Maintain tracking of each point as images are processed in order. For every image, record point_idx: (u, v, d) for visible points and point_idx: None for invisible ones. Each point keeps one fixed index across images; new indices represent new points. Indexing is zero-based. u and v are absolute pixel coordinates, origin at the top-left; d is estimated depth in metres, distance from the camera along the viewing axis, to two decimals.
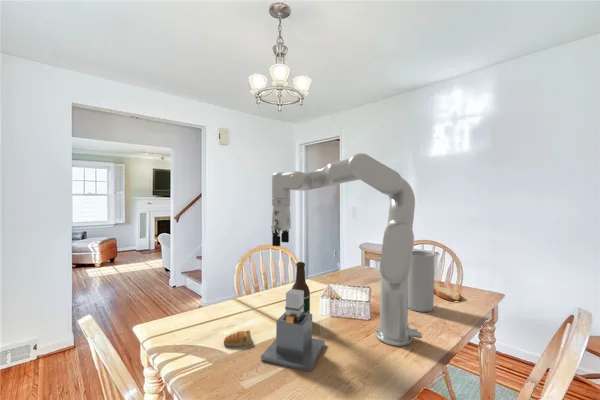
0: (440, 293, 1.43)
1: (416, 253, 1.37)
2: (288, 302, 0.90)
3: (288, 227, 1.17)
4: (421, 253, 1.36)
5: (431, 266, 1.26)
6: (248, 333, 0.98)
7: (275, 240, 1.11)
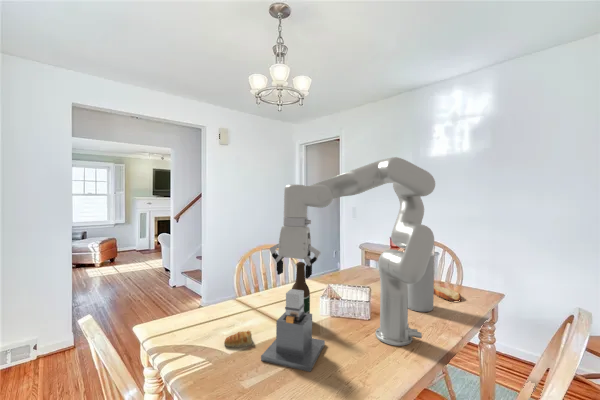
0: (440, 293, 1.44)
1: None
2: (288, 302, 0.90)
3: None
4: None
5: (431, 266, 1.26)
6: (249, 333, 0.98)
7: (311, 270, 0.90)
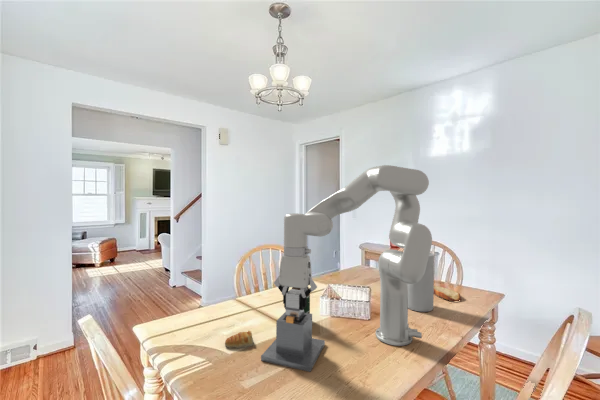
0: (439, 293, 1.43)
1: None
2: (288, 302, 0.90)
3: None
4: None
5: (431, 266, 1.26)
6: (249, 334, 0.98)
7: (306, 301, 0.91)
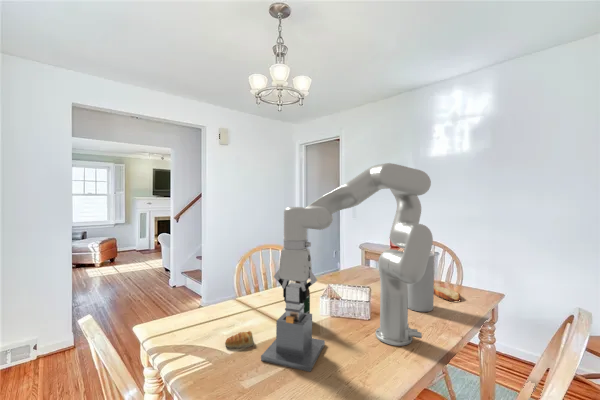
0: (439, 293, 1.44)
1: None
2: (288, 296, 0.90)
3: None
4: None
5: (431, 266, 1.26)
6: (250, 334, 0.97)
7: (306, 295, 0.91)
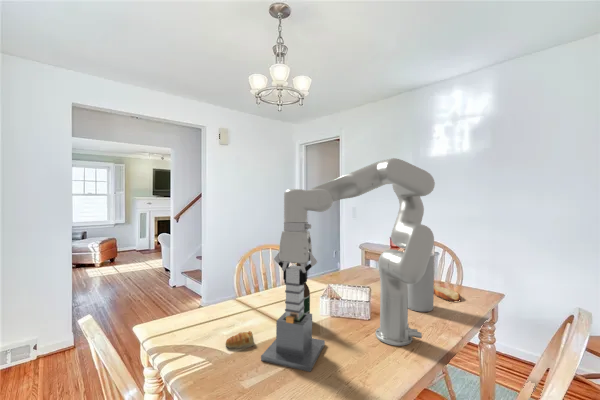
0: (439, 293, 1.44)
1: None
2: (288, 278, 0.90)
3: None
4: None
5: (431, 266, 1.26)
6: (250, 334, 0.97)
7: (306, 277, 0.91)
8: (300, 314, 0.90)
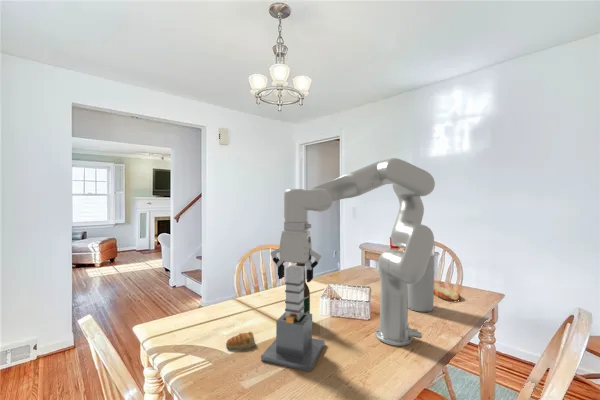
0: (439, 293, 1.44)
1: None
2: (288, 277, 0.90)
3: None
4: None
5: (431, 266, 1.26)
6: (251, 334, 0.97)
7: (312, 274, 0.90)
8: (300, 314, 0.90)
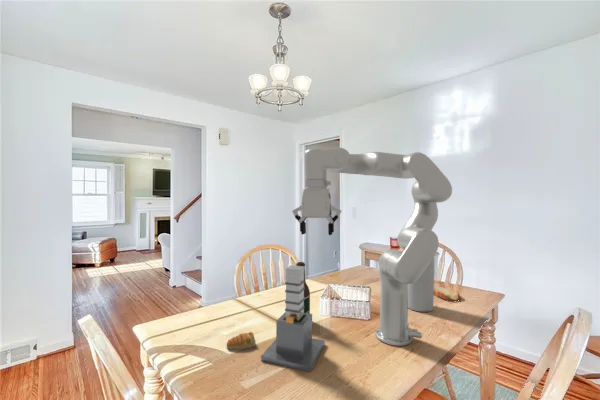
0: (438, 293, 1.44)
1: None
2: (288, 277, 0.90)
3: None
4: None
5: (431, 266, 1.26)
6: (251, 335, 0.97)
7: (333, 227, 0.97)
8: (300, 314, 0.90)
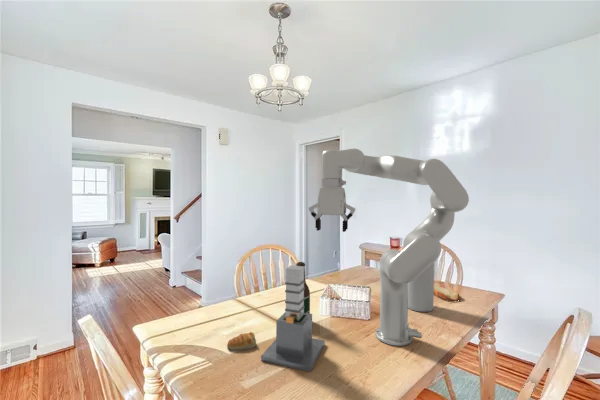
0: (438, 293, 1.44)
1: None
2: (288, 277, 0.90)
3: None
4: None
5: (431, 266, 1.26)
6: (252, 335, 0.97)
7: (347, 225, 1.02)
8: (300, 314, 0.90)
